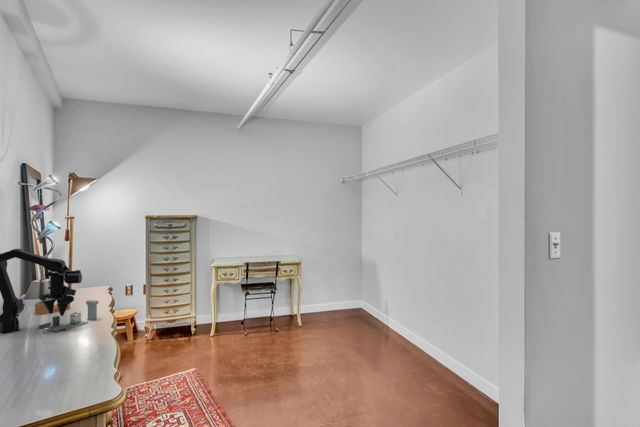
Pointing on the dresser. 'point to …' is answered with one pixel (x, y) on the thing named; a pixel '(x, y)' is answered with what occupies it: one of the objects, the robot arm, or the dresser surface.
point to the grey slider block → (54, 323)
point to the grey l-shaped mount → (91, 313)
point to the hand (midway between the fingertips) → (56, 314)
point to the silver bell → (75, 318)
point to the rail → (54, 328)
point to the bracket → (42, 310)
